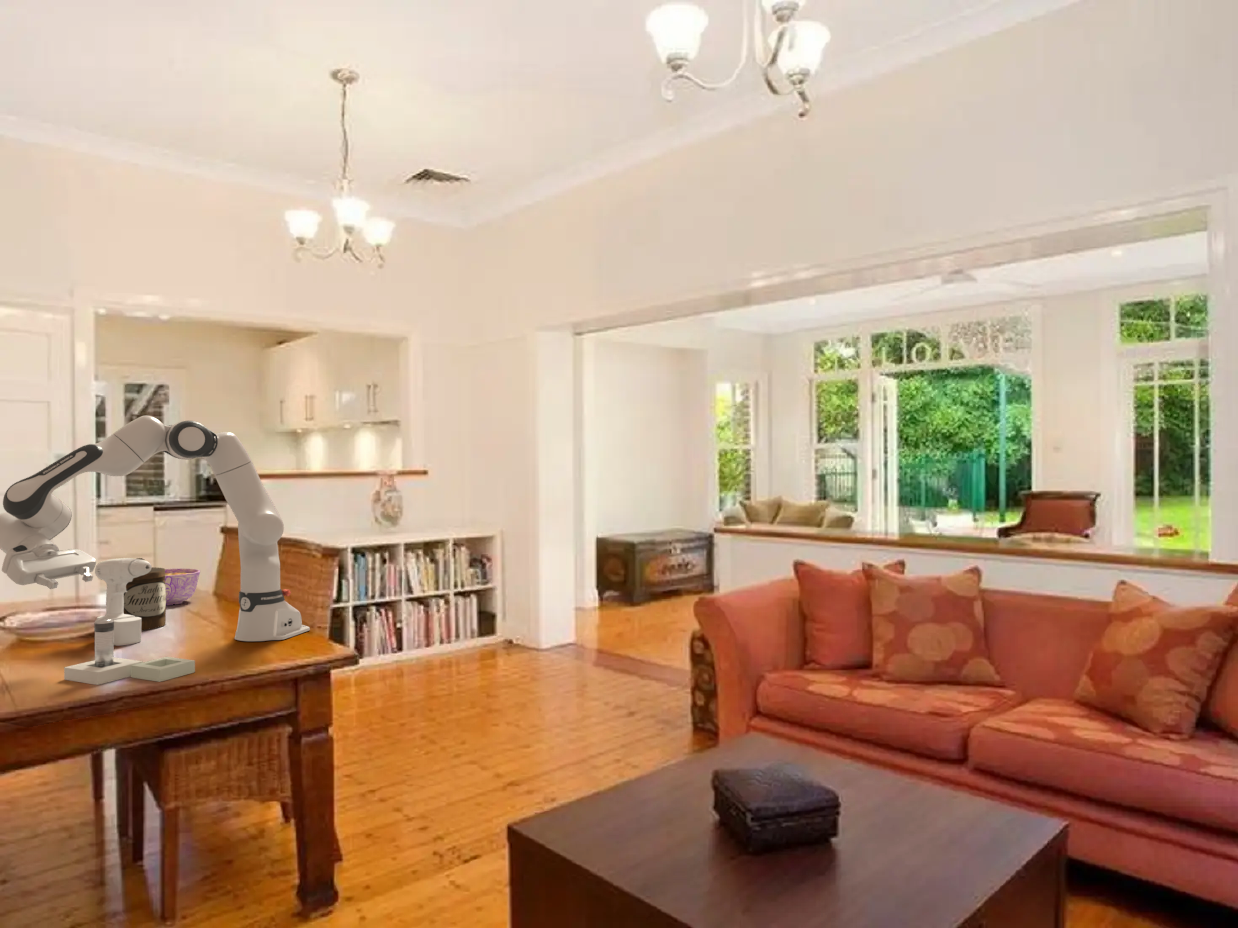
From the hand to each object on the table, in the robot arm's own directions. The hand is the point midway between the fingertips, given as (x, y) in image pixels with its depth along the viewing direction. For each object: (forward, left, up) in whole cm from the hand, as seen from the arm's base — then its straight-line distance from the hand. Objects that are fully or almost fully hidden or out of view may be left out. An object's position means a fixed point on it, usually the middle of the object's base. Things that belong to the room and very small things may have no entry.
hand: (72, 582), depth 217 cm
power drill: (-27, -17, -23) cm, 39 cm away
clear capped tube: (+1, +13, -22) cm, 26 cm away
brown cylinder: (-45, -34, -23) cm, 61 cm away
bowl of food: (-79, -62, -23) cm, 103 cm away
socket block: (+1, +13, -22) cm, 26 cm away
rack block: (-6, +25, -22) cm, 34 cm away
